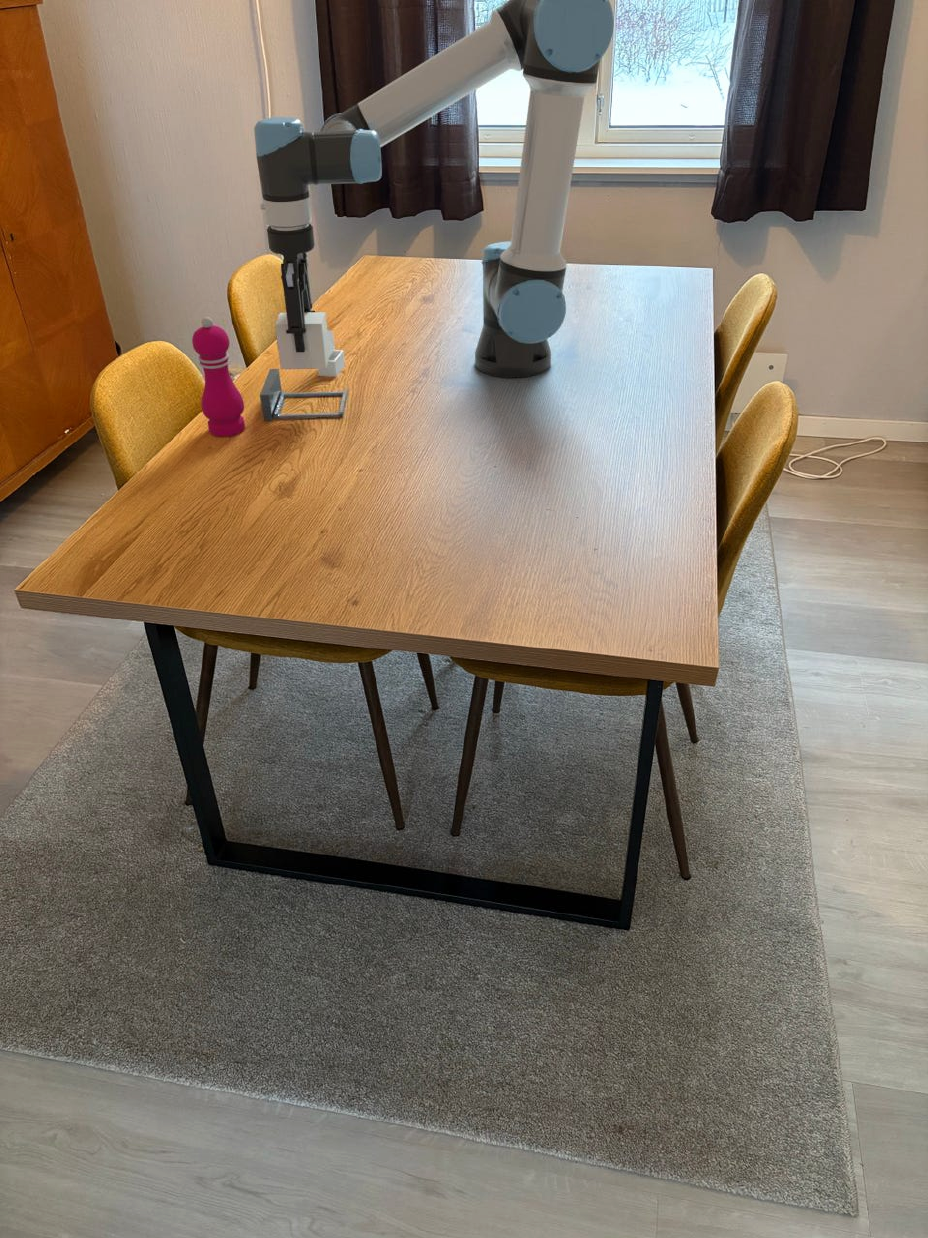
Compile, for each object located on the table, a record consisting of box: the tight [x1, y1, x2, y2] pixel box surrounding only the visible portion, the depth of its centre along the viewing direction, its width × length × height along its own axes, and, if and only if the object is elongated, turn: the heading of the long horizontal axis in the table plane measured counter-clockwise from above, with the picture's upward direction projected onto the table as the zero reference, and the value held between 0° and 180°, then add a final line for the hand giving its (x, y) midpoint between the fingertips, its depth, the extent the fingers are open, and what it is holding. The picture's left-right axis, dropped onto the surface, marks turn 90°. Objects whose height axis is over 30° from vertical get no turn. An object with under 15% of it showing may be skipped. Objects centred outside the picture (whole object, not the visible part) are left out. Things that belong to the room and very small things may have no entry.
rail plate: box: [259, 368, 349, 422], centre depth 171 cm, size 14×12×5 cm
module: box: [274, 311, 330, 370], centre depth 165 cm, size 8×6×8 cm
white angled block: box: [317, 328, 346, 378], centre depth 184 cm, size 4×10×9 cm, turn 169°
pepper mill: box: [191, 316, 246, 438], centre depth 160 cm, size 7×7×20 cm
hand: (305, 360), depth 168 cm, fingers closed on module, 6 cm apart
